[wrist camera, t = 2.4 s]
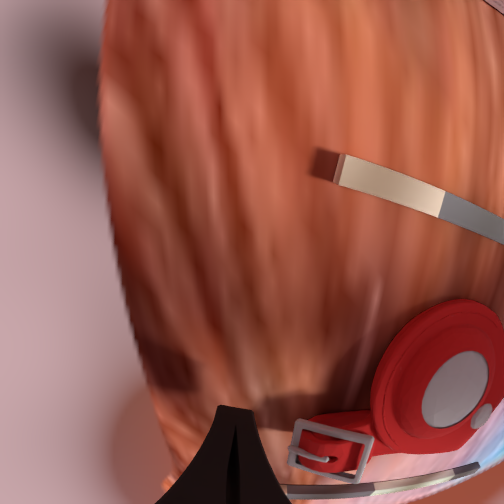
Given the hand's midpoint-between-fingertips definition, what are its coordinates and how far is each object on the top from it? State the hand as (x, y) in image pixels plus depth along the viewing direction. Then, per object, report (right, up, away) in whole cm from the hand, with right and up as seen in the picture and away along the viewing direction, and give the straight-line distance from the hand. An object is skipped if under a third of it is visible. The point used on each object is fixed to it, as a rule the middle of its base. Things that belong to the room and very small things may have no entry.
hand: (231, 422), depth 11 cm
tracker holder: (+9, 0, +3) cm, 9 cm away
